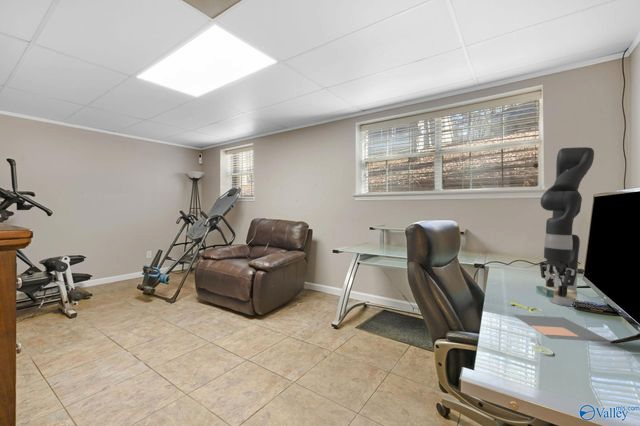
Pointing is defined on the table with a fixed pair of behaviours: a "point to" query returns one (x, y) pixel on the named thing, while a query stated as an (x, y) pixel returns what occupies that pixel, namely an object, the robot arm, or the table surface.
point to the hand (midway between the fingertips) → (555, 293)
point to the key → (525, 307)
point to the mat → (560, 328)
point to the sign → (542, 350)
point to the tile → (554, 292)
